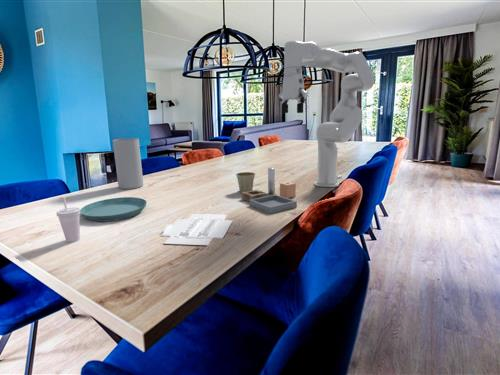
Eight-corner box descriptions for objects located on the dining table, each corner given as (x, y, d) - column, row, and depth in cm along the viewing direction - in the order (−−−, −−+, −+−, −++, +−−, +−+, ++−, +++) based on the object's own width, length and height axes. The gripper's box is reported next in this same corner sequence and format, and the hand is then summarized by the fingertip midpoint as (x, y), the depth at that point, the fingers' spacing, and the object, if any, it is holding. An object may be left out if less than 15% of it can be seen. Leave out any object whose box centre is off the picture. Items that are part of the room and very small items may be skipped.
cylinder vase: (113, 188, 165) (107, 140, 159) (130, 183, 176) (125, 138, 170) (132, 190, 160) (126, 140, 154) (148, 184, 171) (143, 138, 165)
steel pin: (272, 192, 150) (271, 167, 148) (276, 193, 148) (275, 168, 145) (267, 193, 149) (266, 168, 146) (270, 194, 146) (270, 169, 143)
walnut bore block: (256, 195, 145) (256, 189, 144) (267, 199, 138) (267, 193, 138) (241, 198, 140) (241, 192, 140) (252, 203, 134) (252, 196, 133)
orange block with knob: (288, 194, 147) (288, 181, 146) (295, 196, 143) (295, 183, 142) (279, 196, 144) (279, 183, 143) (287, 198, 140) (287, 184, 139)
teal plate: (85, 208, 132) (84, 201, 131) (145, 201, 140) (145, 194, 139) (76, 228, 110) (75, 219, 109) (149, 218, 118) (148, 210, 117)
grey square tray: (275, 199, 138) (275, 194, 138) (296, 207, 127) (296, 201, 127) (249, 205, 131) (249, 199, 130) (270, 213, 120) (269, 207, 119)
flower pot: (253, 194, 148) (253, 176, 146) (234, 193, 150) (233, 175, 148) (257, 189, 157) (257, 172, 155) (238, 188, 159) (238, 171, 157)
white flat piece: (236, 217, 119) (235, 207, 118) (219, 252, 92) (218, 240, 91) (183, 215, 122) (183, 206, 121) (152, 249, 95) (151, 238, 94)
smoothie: (67, 236, 102) (60, 194, 98) (87, 235, 102) (81, 193, 99) (57, 244, 96) (49, 200, 92) (79, 243, 96) (72, 199, 93)
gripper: (313, 70, 133) (312, 112, 137) (285, 74, 146) (285, 112, 150) (300, 69, 128) (299, 113, 132) (273, 74, 142) (273, 113, 146)
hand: (292, 112), depth 141 cm, fingers open, 9 cm apart
